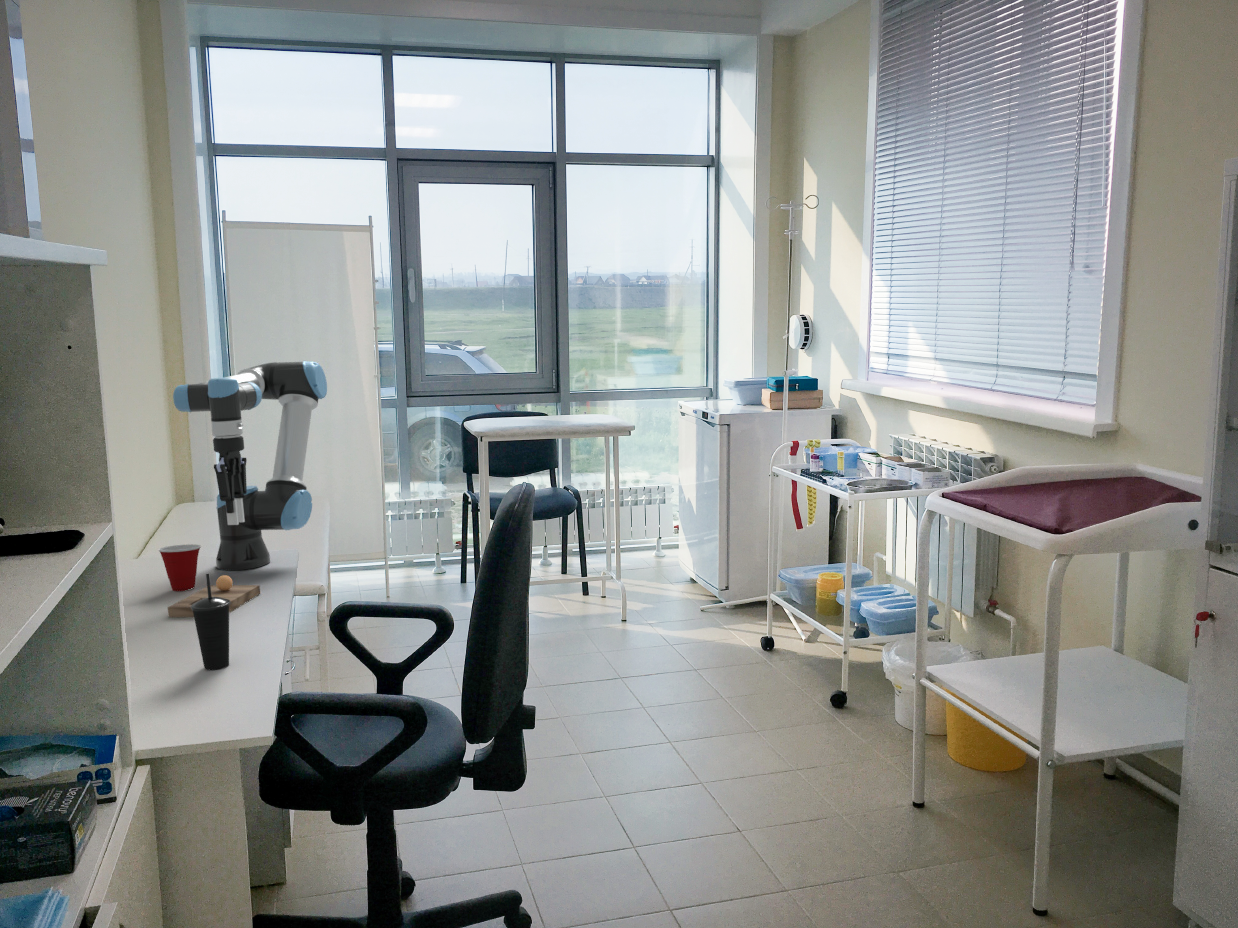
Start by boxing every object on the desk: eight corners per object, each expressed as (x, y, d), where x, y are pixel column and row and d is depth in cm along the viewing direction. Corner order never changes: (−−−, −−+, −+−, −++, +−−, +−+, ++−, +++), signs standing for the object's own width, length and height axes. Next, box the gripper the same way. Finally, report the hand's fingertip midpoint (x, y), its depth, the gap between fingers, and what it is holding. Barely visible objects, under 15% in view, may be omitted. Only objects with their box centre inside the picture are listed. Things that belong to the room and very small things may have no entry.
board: (210, 594, 263) (209, 585, 263) (260, 594, 261) (259, 585, 261) (168, 617, 243) (167, 607, 243) (222, 617, 242) (221, 607, 241)
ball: (221, 588, 259) (220, 573, 259) (236, 588, 259) (234, 573, 258) (213, 592, 255) (212, 577, 255) (228, 592, 255) (226, 577, 254)
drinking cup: (212, 675, 201) (202, 580, 198) (189, 669, 205) (179, 576, 202) (244, 663, 208) (235, 571, 205) (221, 657, 212) (212, 567, 209)
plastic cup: (212, 582, 275) (208, 541, 273) (192, 593, 264) (187, 550, 262) (175, 583, 276) (171, 541, 274) (154, 594, 265) (149, 550, 264)
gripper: (226, 439, 252) (235, 529, 255) (255, 432, 267) (263, 517, 271) (198, 440, 253) (207, 529, 256) (229, 433, 268) (237, 517, 272)
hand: (236, 523), depth 263 cm, fingers open, 3 cm apart
